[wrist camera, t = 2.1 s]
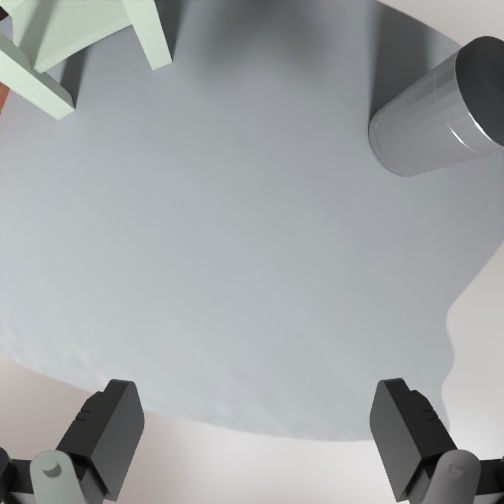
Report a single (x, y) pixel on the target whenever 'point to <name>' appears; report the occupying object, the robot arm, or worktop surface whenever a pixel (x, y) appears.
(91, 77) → the worktop surface
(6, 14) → the dark brown cup
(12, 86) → the tall stand
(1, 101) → the house
